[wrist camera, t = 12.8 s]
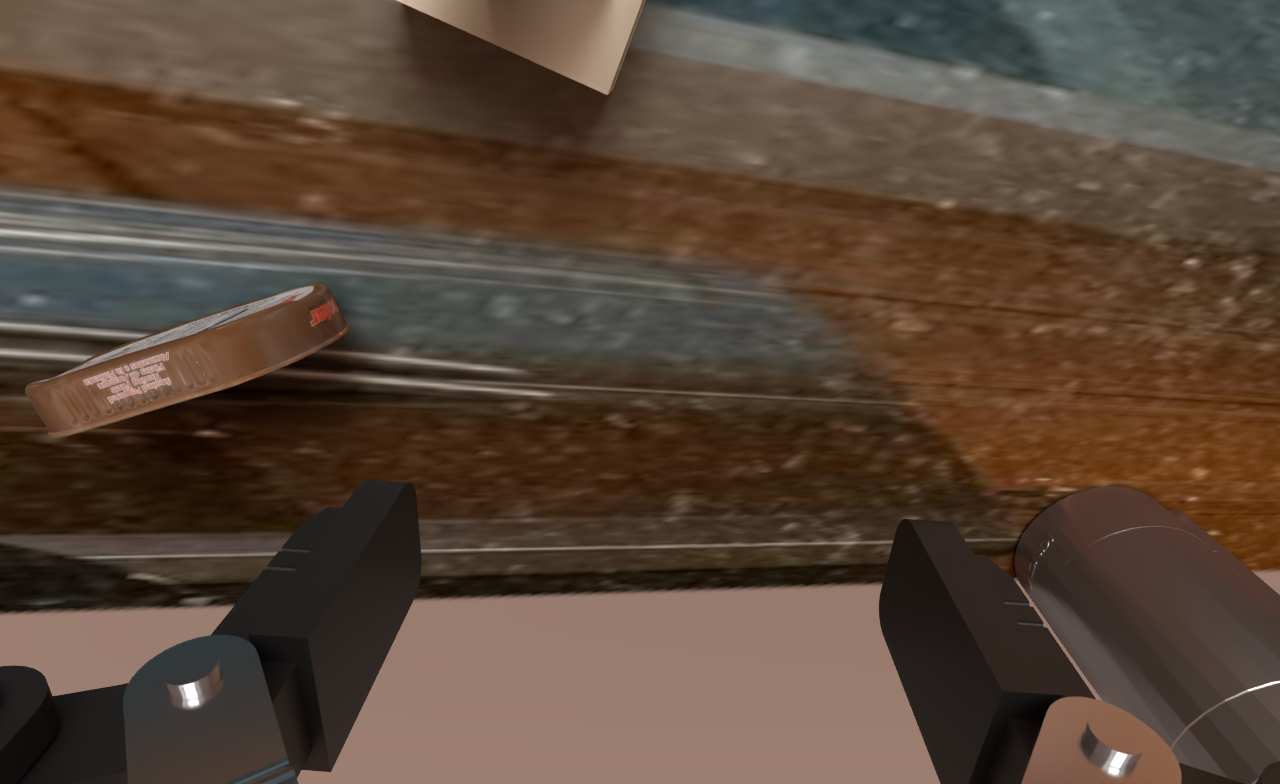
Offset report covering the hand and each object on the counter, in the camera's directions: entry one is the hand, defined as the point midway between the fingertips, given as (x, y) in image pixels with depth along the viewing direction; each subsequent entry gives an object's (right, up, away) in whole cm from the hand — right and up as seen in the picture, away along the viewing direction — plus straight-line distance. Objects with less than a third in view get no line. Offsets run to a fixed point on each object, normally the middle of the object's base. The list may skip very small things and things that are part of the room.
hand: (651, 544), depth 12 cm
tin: (-22, +6, +26) cm, 35 cm away
